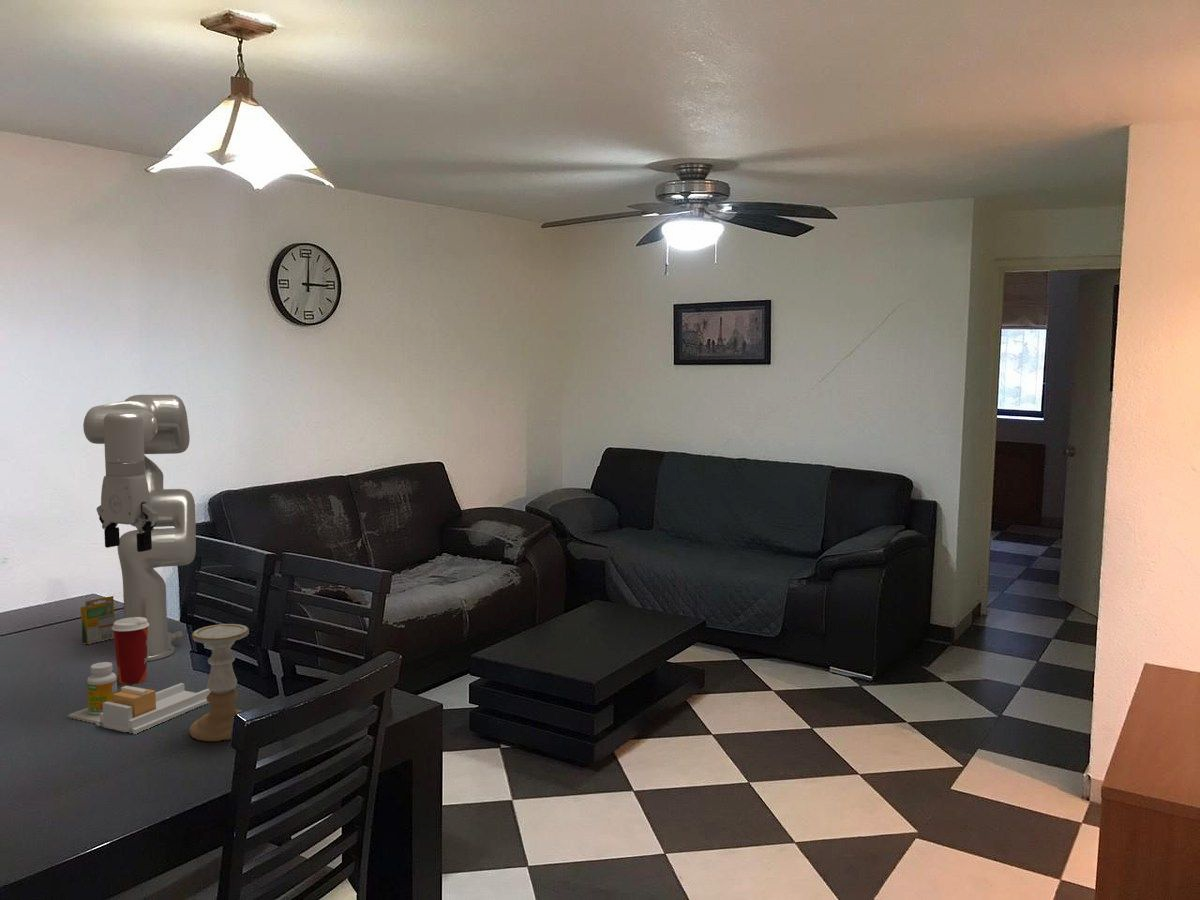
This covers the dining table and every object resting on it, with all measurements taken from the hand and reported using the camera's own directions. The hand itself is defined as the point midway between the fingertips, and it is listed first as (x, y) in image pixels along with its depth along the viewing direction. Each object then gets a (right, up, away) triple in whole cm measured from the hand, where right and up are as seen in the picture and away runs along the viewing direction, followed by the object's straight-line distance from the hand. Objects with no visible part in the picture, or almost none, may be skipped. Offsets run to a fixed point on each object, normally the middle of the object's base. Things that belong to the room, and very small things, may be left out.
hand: (128, 548), depth 198 cm
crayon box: (-30, -29, +43) cm, 60 cm away
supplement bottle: (-1, -33, -7) cm, 34 cm away
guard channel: (+10, -34, -7) cm, 36 cm away
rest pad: (-1, -34, -7) cm, 34 cm away
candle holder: (+27, -35, -15) cm, 46 cm away
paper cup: (-6, -32, +13) cm, 35 cm away
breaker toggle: (+8, -33, -12) cm, 36 cm away
